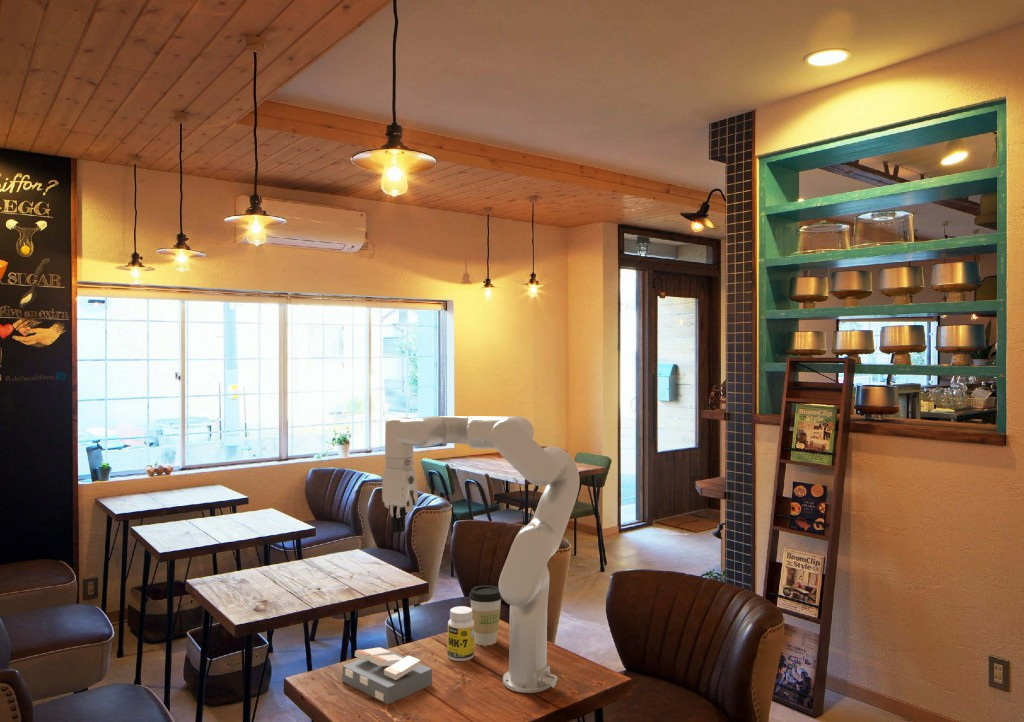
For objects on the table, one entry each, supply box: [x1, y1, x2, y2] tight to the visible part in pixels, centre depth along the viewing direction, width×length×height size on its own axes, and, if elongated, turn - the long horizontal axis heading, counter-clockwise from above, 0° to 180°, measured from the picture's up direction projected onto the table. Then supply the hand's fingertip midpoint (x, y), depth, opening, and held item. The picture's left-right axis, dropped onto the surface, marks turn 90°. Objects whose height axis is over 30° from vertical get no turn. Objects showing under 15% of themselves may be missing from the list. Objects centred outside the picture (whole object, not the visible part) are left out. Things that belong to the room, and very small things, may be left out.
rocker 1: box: [354, 646, 391, 661], centre depth 183 cm, size 4×8×1 cm, turn 139°
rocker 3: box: [384, 655, 422, 680], centre depth 175 cm, size 4×8×1 cm, turn 139°
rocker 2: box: [370, 655, 403, 666], centre depth 179 cm, size 4×8×1 cm, turn 139°
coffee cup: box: [468, 584, 503, 647], centre depth 206 cm, size 10×10×15 cm
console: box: [341, 649, 433, 705], centre depth 179 cm, size 18×14×5 cm
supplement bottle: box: [446, 605, 475, 662], centre depth 195 cm, size 7×7×13 cm
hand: (398, 531), depth 191 cm, fingers closed
